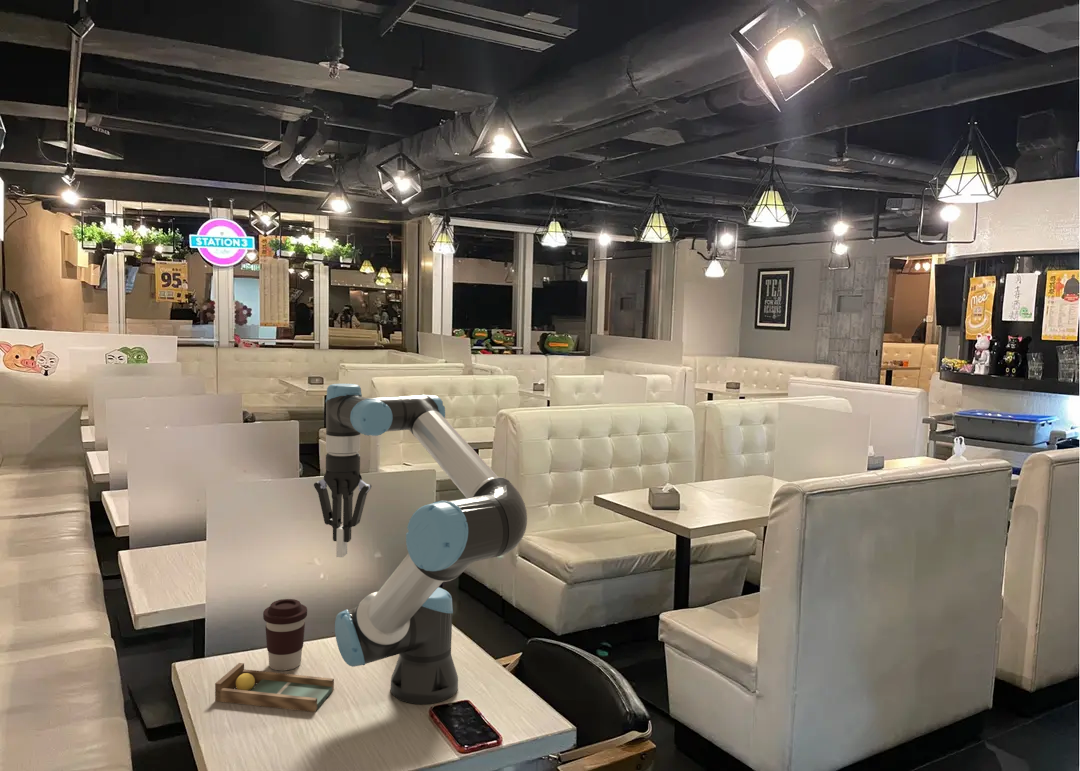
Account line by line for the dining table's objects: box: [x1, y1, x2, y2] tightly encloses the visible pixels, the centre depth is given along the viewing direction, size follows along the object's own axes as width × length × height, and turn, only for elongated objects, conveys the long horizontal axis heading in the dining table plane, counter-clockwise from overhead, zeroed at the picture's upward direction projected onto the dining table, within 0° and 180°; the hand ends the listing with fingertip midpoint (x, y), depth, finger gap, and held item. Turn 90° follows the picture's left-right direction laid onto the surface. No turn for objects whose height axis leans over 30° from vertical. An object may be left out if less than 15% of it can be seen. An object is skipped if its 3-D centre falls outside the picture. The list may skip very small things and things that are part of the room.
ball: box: [235, 673, 255, 691], centre depth 174 cm, size 4×4×4 cm
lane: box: [214, 662, 335, 713], centre depth 173 cm, size 23×10×4 cm, turn 82°
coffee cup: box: [262, 598, 308, 672], centre depth 187 cm, size 10×10×15 cm
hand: (341, 555), depth 178 cm, fingers closed
